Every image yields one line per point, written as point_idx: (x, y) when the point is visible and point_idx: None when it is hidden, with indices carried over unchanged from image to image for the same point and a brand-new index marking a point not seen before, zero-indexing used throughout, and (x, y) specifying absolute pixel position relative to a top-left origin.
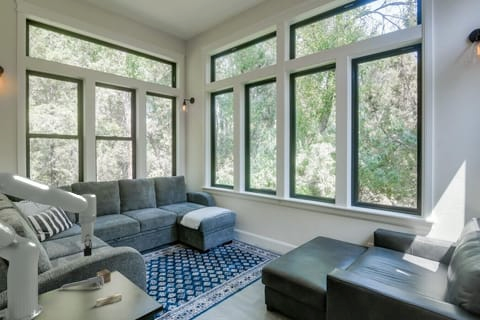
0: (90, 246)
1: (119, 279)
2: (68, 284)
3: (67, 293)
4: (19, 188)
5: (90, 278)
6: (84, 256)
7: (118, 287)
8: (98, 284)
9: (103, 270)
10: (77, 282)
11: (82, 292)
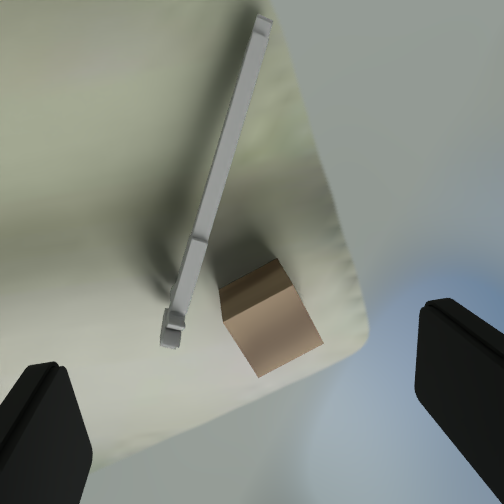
0: None
1: (251, 381)
2: (240, 80)
3: (168, 89)
4: None
5: (201, 257)
6: (33, 369)
7: (139, 389)
8: (170, 295)
9: (313, 327)
10: (221, 153)
11: (146, 193)
